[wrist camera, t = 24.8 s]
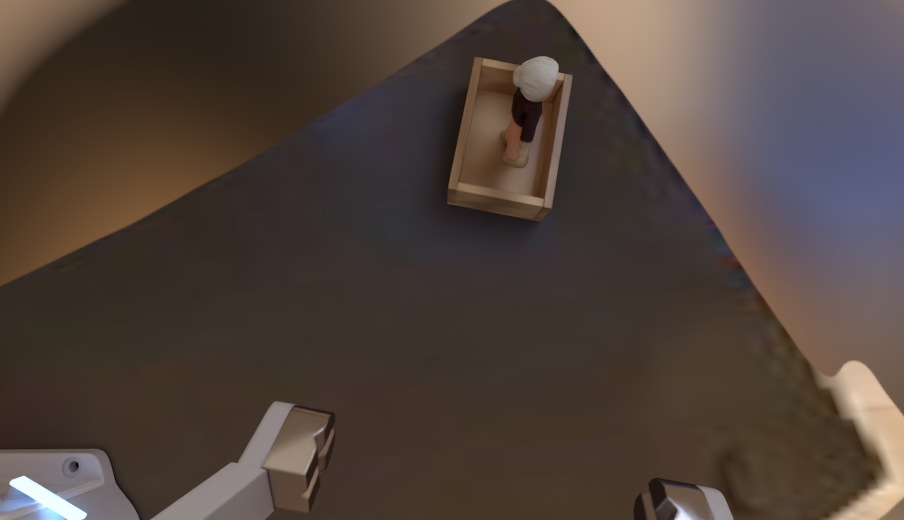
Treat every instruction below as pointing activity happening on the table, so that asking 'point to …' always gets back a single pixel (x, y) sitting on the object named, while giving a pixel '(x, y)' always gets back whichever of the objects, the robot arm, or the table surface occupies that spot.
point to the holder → (480, 149)
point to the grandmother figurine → (527, 107)
